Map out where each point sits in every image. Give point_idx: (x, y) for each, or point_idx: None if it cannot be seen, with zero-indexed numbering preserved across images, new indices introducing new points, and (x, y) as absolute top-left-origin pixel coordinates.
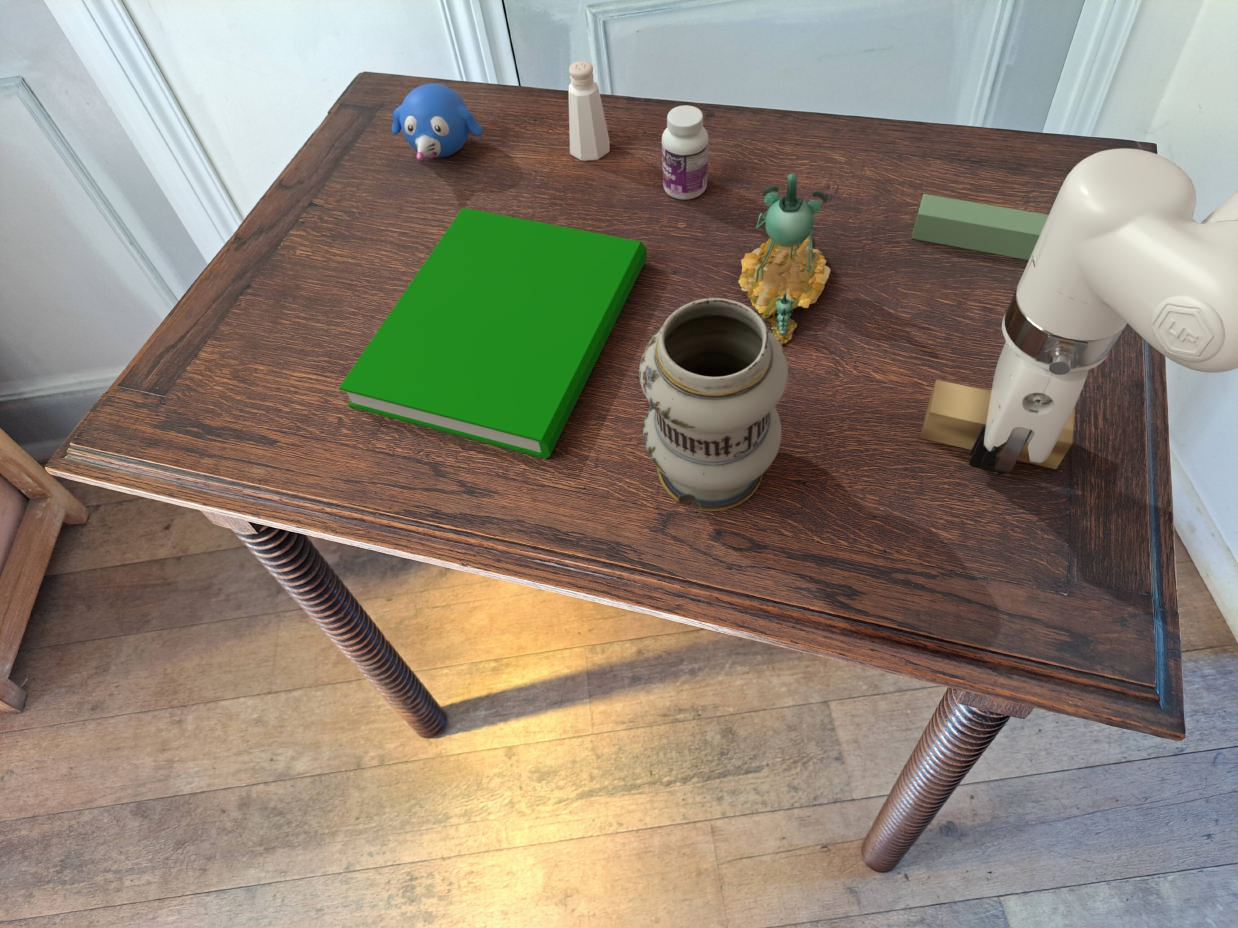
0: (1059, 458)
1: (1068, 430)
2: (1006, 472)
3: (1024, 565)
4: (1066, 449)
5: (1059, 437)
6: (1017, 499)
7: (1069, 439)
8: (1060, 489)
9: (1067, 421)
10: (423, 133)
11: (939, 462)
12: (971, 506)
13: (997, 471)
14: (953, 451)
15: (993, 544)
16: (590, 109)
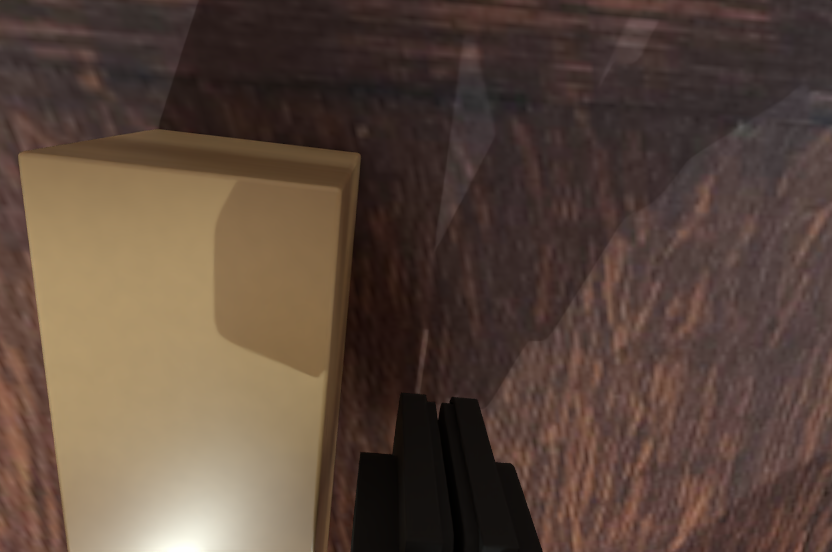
0: (353, 180)
1: (233, 208)
2: (476, 401)
3: (825, 286)
4: (347, 189)
5: (306, 263)
6: (536, 306)
7: (308, 204)
8: (464, 138)
9: (156, 212)
10: None
11: None
12: (581, 448)
13: (512, 467)
14: (353, 505)
15: (735, 382)
16: None
